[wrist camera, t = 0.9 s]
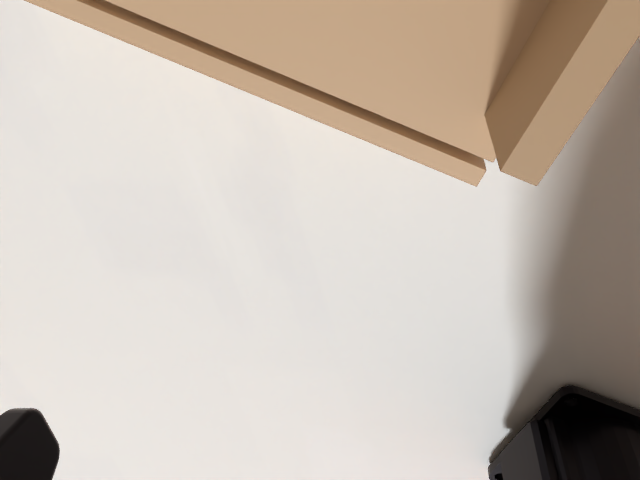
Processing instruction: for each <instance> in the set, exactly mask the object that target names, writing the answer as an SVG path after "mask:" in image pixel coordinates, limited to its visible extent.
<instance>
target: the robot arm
mask: <svg viewBox="0 0 640 480" xmlns="http://www.w3.org/2000/svg"><path fill="white" fill-rule="evenodd" d="M571 397H574V398H571ZM568 398H571V399H568ZM59 454H60V450H59V444H58V441H57V440H56V438H55V436H54V434H53V432H52V431H51V429H50V427H49V425H48V423H47V422H46V420H45V418H44V416H43V415H42V413H41V412H40V411H39V410H37V409H34V408H15V409H10V410H8V411H6V412H5V413H3V414H2V415H0V480H52V478H53V475H54V472H55V469H56V466H57V463H58V460H59ZM488 473H489V479H490V480H640V411H639V410H637V409H634V408H632V407H629V406H626V405H624V404H621V403H619V402H616V401H613V400H611V399H608V398H606V397H603V396H600V395H598V394H595V393H592V392H590V391H587V390H585V389H582V388H579V387H577V386H565V387H562V388H561V389H559V390H558V391H557V392H556V393H555V395H554V396H553V397H552V398H551V399H550V400H549V401H548V402H547V403H546V404H545V405H544V407H543V408H542V409H541V410H540V411H539V412H538V413H537V414H536V415H535V416H534V417H533V419H532V420H531V421H530V422H528V423H527V424H526V425H525V426H524V428H523V429H522V430H521V431H520V432H519V433H518V434H517V435H516V436H515V437H514V438H513V440H512V441H511V442H510V443H509V444H508V445H507V446H506V447H505V448H504V449H503V450H502V452H501V453H500V454H499V456H498V457H497V458H496V459H495V460H494V461H493V462H492V463H491V464H490V465H489V467H488Z"/></svg>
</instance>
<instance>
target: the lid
mask: <svg viewBox="0 0 640 480" xmlns="http://www.w3.org/2000/svg"><path fill="white" fill-rule="evenodd" d="M25 1H27V2H29V3H32V4H34V5H37V6H39V7H42V8H44V9H46V10H49V11H51V12H54V13H56V14H59V15H61V16H63V17H66V18H68V19H71V20H73V21H76V22H78V23H80V24H83V25H85V26H88V27H90V28H93V29H95V30H97V31H100V32H102V33H105V34H107V35H110V36H112V37H114V38H117V39H119V40H122V41H124V42H127V43H129V44H131V45H134V46H136V47H139V48H141V49H144V50H146V51H148V52H151V53H153V54H156V55H158V56H161V57H163V58H165V59H168V60H170V61H173V62H175V63H178V64H180V65H182V66H185V67H187V68H190V69H192V70H195V71H197V72H199V73H202V74H204V75H207V76H209V77H212V78H214V79H216V80H219V81H221V82H224V83H226V84H229V85H231V86H233V87H236V88H238V89H241V90H243V91H246V92H248V93H250V94H253V95H255V96H258V97H260V98H263V99H265V100H267V101H270V102H272V103H275V104H277V105H280V106H282V107H284V108H287V109H289V110H292V111H294V112H297V113H299V114H301V115H304V116H306V117H309V118H311V119H314V120H316V121H318V122H321V123H323V124H326V125H328V126H331V127H333V128H335V129H338V130H340V131H343V132H345V133H348V134H350V135H352V136H355V137H357V138H360V139H362V140H365V141H367V142H369V143H372V144H374V145H377V146H379V147H382V148H384V149H386V150H389V151H391V152H394V153H396V154H399V155H401V156H403V157H406V158H408V159H411V160H413V161H416V162H418V163H420V164H423V165H425V166H428V167H430V168H432V169H435V170H437V171H440V172H442V173H445V174H447V175H449V176H452V177H454V178H457V179H459V180H462V181H464V182H466V183H469V184H471V185H474V186H476V187H477V185H478V184H479V182H480V180H481V179H482V177H483V175H484V174H485V172H486V167H485V163H484V159H486V160H488V161H491V162H494V160H495V158H497V161H498V165H499V168H500V171H501V172H504V173H506V174H509V175H511V176H513V177H516V178H518V179H521V180H523V181H525V182H528V183H530V184H533V185H535V186H537V185H538V184H539V182H540V181H541V179H542V178H543V176H544V175H545V173H546V172H547V170H548V169H549V168H550V166H551V165H552V163H553V162H554V160H555V159H556V157H557V156H558V154H559V153H560V151H561V150H562V148H563V147H564V146H565V144H566V143H567V141H568V140H569V138H570V137H571V135H572V134H573V132H574V131H575V129H576V128H577V127H578V125H579V124H580V122H581V121H582V119H583V118H584V116H585V115H586V113H587V112H588V110H589V109H590V107H591V106H592V105H593V103H594V102H595V100H596V99H597V97H598V96H599V94H600V93H601V91H602V90H603V88H604V87H605V86H606V84H607V83H608V81H609V80H610V78H611V77H612V75H613V74H614V72H615V71H616V69H617V68H618V66H619V65H620V64H621V62H622V61H623V59H624V58H625V56H626V55H627V53H628V52H629V50H630V49H631V47H632V46H633V45H634V43H635V42H636V40H637V39H638V37H639V36H640V0H25Z"/></svg>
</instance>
